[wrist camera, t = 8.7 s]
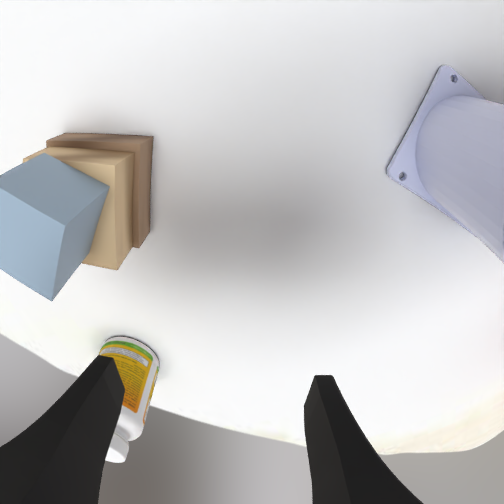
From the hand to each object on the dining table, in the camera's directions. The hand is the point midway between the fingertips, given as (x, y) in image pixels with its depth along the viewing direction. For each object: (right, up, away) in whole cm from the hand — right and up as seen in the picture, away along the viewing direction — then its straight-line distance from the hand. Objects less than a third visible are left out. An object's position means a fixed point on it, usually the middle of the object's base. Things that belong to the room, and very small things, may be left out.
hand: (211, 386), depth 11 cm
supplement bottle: (-9, -4, +15) cm, 18 cm away
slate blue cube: (-8, +7, +3) cm, 11 cm away
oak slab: (-8, +8, +5) cm, 12 cm away
